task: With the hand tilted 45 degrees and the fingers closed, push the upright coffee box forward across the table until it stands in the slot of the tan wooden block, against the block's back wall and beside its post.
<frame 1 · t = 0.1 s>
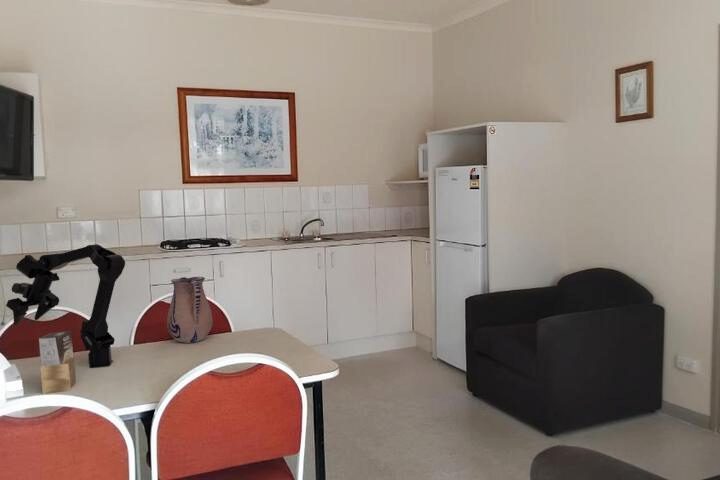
hand: (25, 322, 222), 15 cm above the table, tool tilted 30°, fingers open, 9 cm apart
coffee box: (59, 386, 191), on the table
tan wooden block: (56, 391, 185), on the table
ceramic pitcher: (193, 341, 245), on the table
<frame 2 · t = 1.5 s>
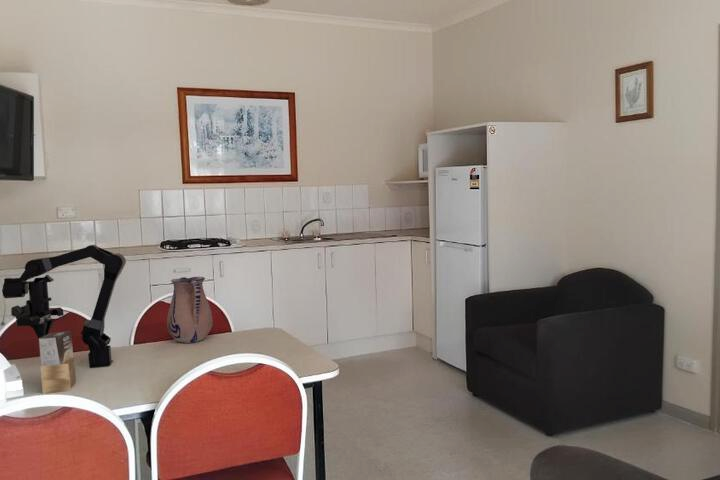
hand: (42, 341, 210), 10 cm above the table, tool pointing down, fingers closed
nothing on the table moved.
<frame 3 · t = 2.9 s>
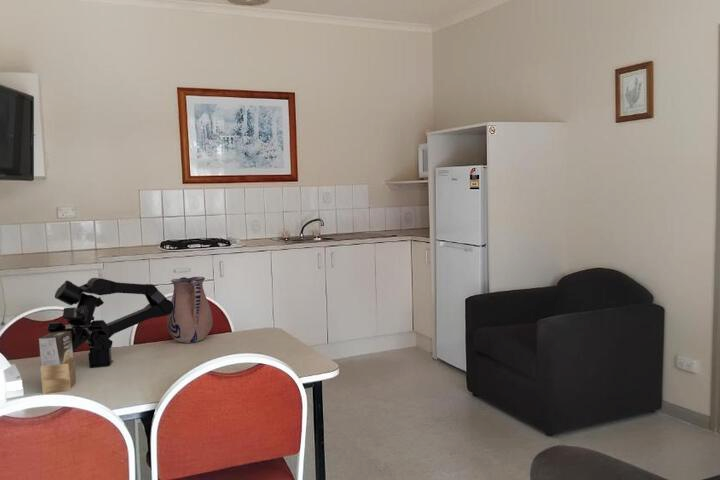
hand: (71, 351, 199), 9 cm above the table, tool tilted 45°, fingers closed
nothing on the table moved.
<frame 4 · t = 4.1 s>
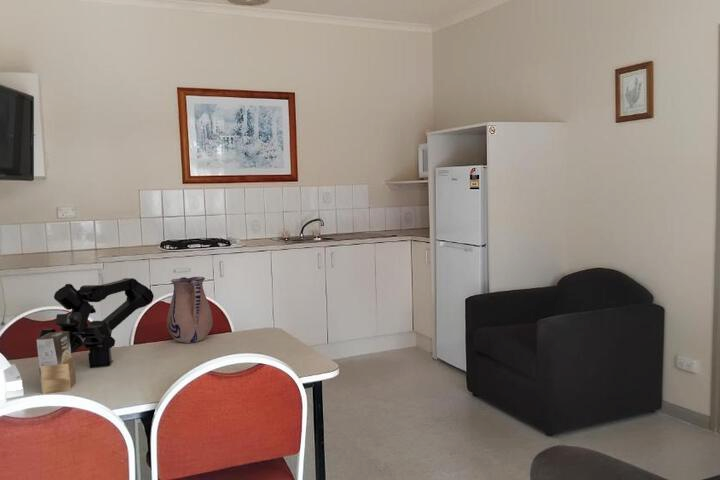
hand: (63, 359, 194), 7 cm above the table, tool tilted 45°, fingers closed, pressing on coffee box
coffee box: (58, 386, 190), on the table, touching gripper
everything else where it was.
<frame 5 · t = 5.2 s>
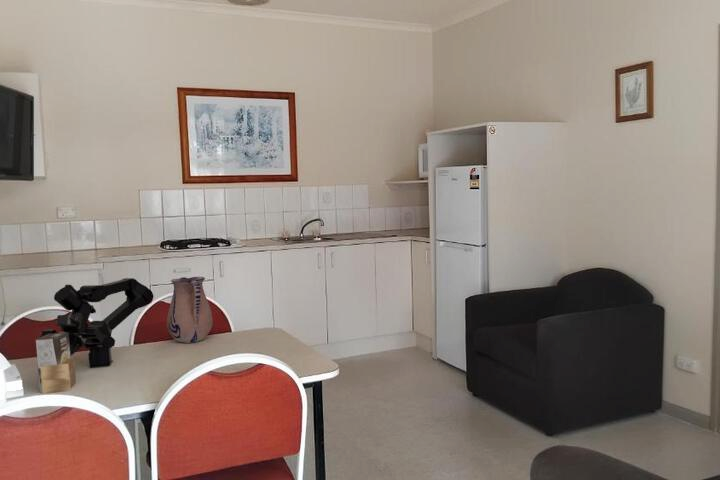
hand: (64, 359, 195), 7 cm above the table, tool tilted 45°, fingers closed
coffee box: (56, 388, 189), on the table
everything else where it was.
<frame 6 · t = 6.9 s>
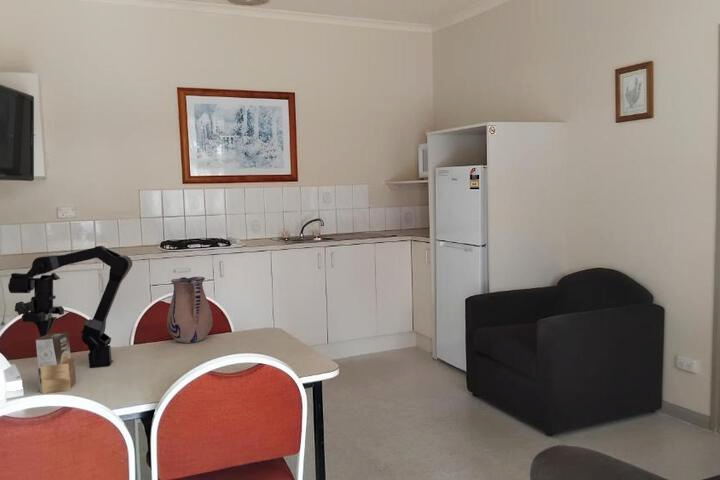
hand: (43, 339, 210), 11 cm above the table, tool pointing down, fingers closed
nothing on the table moved.
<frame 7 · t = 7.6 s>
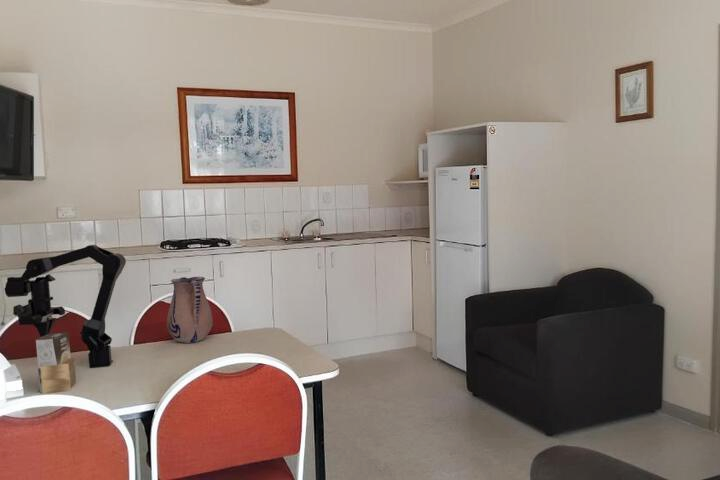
hand: (44, 340, 212), 10 cm above the table, tool pointing down, fingers closed
nothing on the table moved.
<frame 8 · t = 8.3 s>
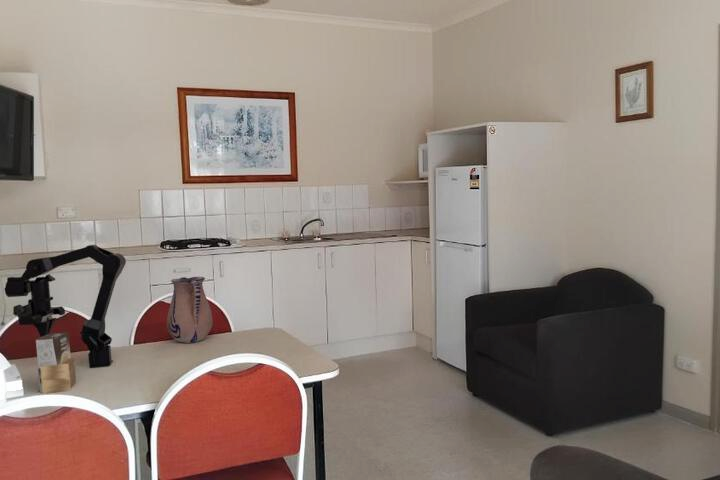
hand: (44, 340, 212), 10 cm above the table, tool pointing down, fingers closed
nothing on the table moved.
at the end: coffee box 0.9 cm from the target spot, on the table; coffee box tilted 0°; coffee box moved 1.7 cm from its start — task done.
